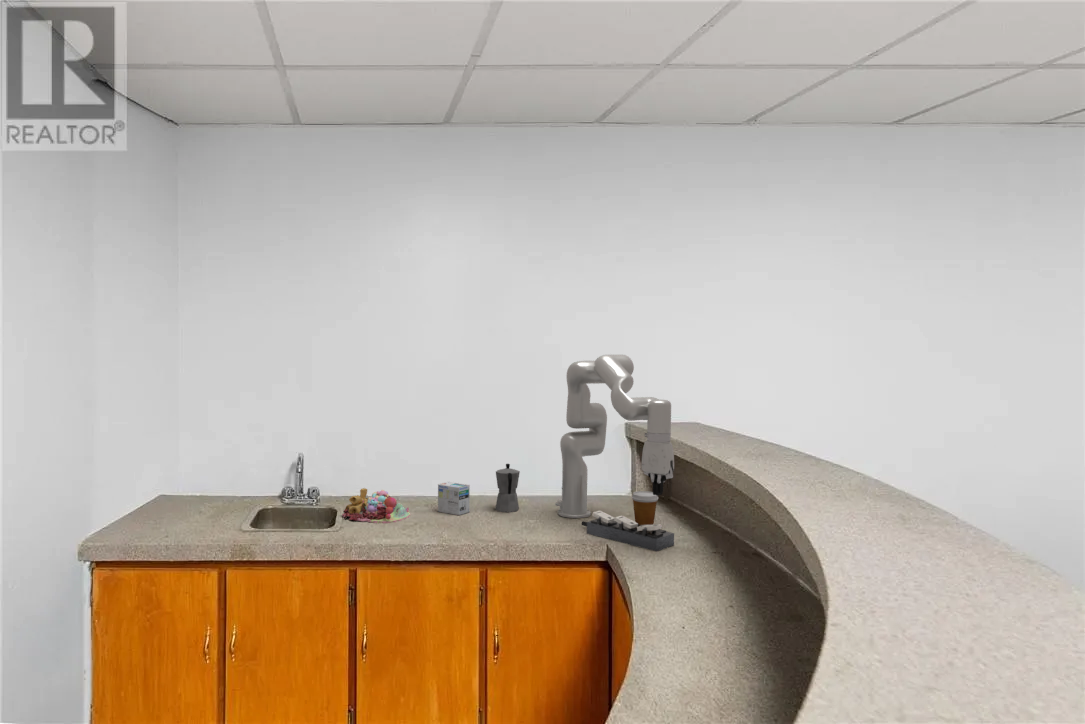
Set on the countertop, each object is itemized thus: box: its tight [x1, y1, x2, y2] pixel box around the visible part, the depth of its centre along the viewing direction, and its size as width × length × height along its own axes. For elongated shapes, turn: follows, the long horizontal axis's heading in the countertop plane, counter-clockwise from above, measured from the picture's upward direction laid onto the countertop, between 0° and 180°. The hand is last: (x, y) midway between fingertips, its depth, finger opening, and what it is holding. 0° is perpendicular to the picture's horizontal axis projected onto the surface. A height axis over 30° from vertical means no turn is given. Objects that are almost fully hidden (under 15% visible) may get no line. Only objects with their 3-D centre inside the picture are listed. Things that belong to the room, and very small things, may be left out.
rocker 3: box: [637, 523, 663, 531], centre depth 246 cm, size 7×4×1 cm, turn 47°
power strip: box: [581, 518, 675, 552], centre depth 257 cm, size 35×10×6 cm, turn 47°
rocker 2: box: [614, 515, 638, 529], centre depth 253 cm, size 7×4×1 cm, turn 47°
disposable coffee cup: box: [631, 490, 659, 525], centre depth 271 cm, size 10×10×12 cm
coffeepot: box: [494, 463, 521, 513], centre depth 292 cm, size 15×9×18 cm, turn 9°
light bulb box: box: [437, 481, 471, 516], centre depth 288 cm, size 11×7×11 cm, turn 58°
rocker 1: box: [591, 510, 615, 523], centre depth 259 cm, size 7×4×1 cm, turn 47°
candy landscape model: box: [341, 487, 411, 524], centre depth 282 cm, size 25×24×9 cm
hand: (657, 494), depth 244 cm, fingers closed
